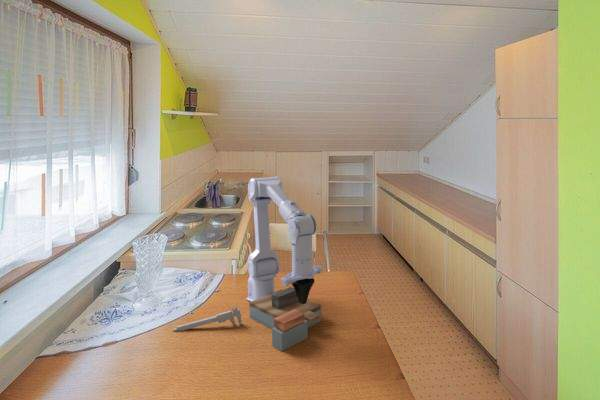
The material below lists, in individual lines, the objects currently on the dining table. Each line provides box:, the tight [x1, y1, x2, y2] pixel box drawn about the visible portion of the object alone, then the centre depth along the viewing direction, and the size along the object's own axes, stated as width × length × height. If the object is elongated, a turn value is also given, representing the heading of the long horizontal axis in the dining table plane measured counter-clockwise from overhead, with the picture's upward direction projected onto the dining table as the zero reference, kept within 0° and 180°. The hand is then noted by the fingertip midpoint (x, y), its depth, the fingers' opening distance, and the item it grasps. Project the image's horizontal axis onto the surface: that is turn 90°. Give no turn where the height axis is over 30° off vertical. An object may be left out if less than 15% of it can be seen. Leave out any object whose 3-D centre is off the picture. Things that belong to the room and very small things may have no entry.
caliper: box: [172, 305, 242, 332], centre depth 121 cm, size 20×1×6 cm, turn 100°
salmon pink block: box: [274, 309, 305, 331], centre depth 112 cm, size 4×8×2 cm, turn 135°
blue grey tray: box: [249, 305, 322, 352], centre depth 122 cm, size 22×20×5 cm
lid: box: [249, 286, 322, 323], centre depth 124 cm, size 22×14×6 cm, turn 45°
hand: (302, 302), depth 115 cm, fingers closed
